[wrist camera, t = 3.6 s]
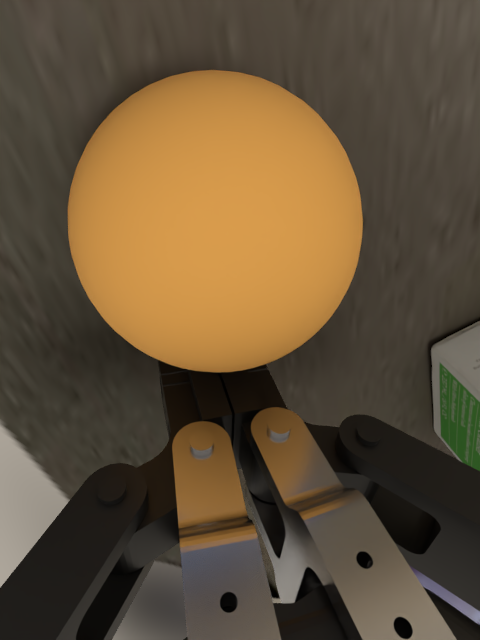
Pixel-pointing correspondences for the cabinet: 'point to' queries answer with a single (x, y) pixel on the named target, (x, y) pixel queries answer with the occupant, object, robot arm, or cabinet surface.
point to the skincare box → (458, 393)
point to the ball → (215, 221)
